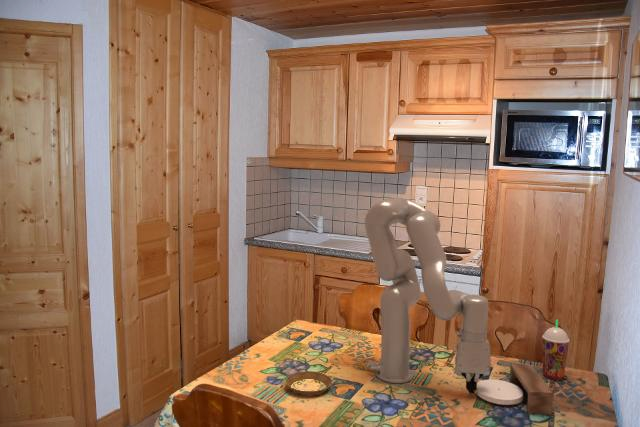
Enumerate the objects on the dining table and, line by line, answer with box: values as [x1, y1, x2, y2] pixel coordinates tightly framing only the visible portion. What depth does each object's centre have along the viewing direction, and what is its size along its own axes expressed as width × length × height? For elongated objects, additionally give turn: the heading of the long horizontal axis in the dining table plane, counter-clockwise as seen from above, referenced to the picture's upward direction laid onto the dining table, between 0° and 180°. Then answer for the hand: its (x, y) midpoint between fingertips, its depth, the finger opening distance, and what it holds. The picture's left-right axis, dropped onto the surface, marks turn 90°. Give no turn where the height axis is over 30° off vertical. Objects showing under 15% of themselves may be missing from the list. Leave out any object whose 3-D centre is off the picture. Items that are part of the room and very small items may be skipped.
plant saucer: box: [285, 371, 333, 396], centre depth 168 cm, size 15×15×3 cm
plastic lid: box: [475, 379, 524, 406], centre depth 163 cm, size 14×14×2 cm
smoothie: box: [542, 319, 570, 381], centre depth 177 cm, size 8×8×20 cm
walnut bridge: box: [508, 363, 554, 416], centre depth 162 cm, size 6×20×7 cm, turn 176°
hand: (470, 391), depth 164 cm, fingers closed
